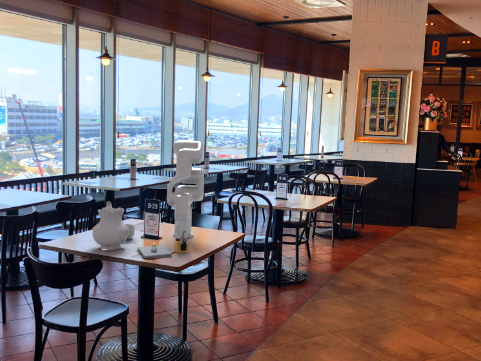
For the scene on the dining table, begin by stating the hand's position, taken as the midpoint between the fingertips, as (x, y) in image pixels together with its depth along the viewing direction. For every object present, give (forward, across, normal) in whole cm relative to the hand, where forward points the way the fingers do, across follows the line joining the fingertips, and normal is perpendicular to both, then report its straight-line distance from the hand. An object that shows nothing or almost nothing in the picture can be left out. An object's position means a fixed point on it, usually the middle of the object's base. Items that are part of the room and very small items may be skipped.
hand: (181, 248), depth 257 cm
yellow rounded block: (+2, 0, 0) cm, 2 cm away
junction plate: (+2, 0, -15) cm, 15 cm away
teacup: (+2, -36, -25) cm, 44 cm away
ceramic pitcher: (+2, -19, -35) cm, 40 cm away
